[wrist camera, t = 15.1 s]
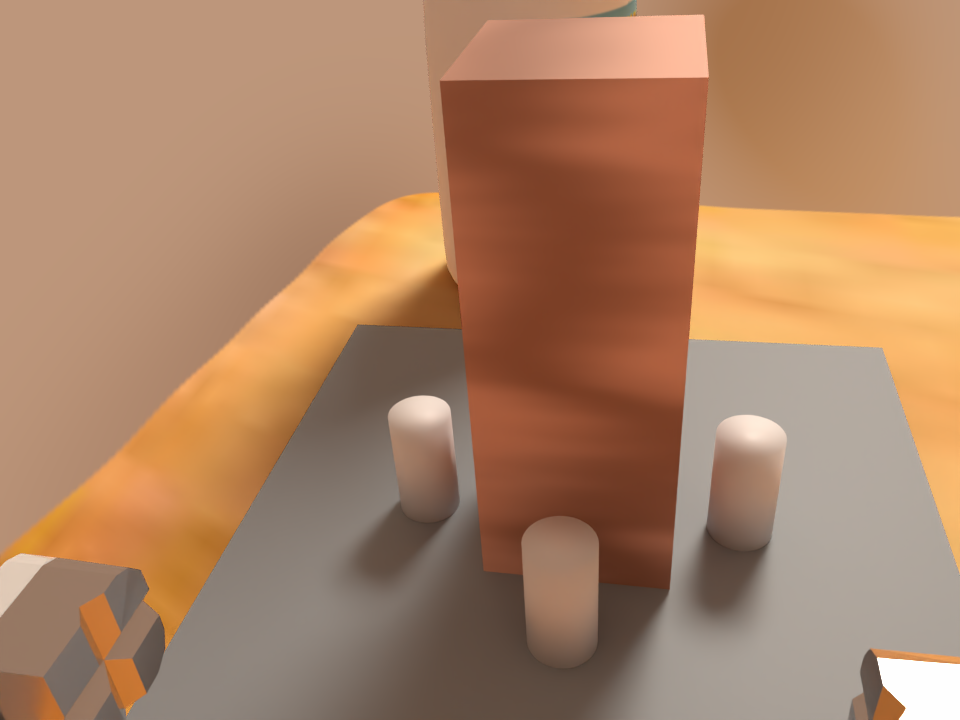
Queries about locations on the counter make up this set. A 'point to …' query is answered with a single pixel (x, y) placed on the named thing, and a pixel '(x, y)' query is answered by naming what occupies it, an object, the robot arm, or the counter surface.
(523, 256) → the terracotta post
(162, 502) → the counter surface
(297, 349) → the counter surface
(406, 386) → the peg plate
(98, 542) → the counter surface
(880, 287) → the counter surface
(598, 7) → the milk bottle
